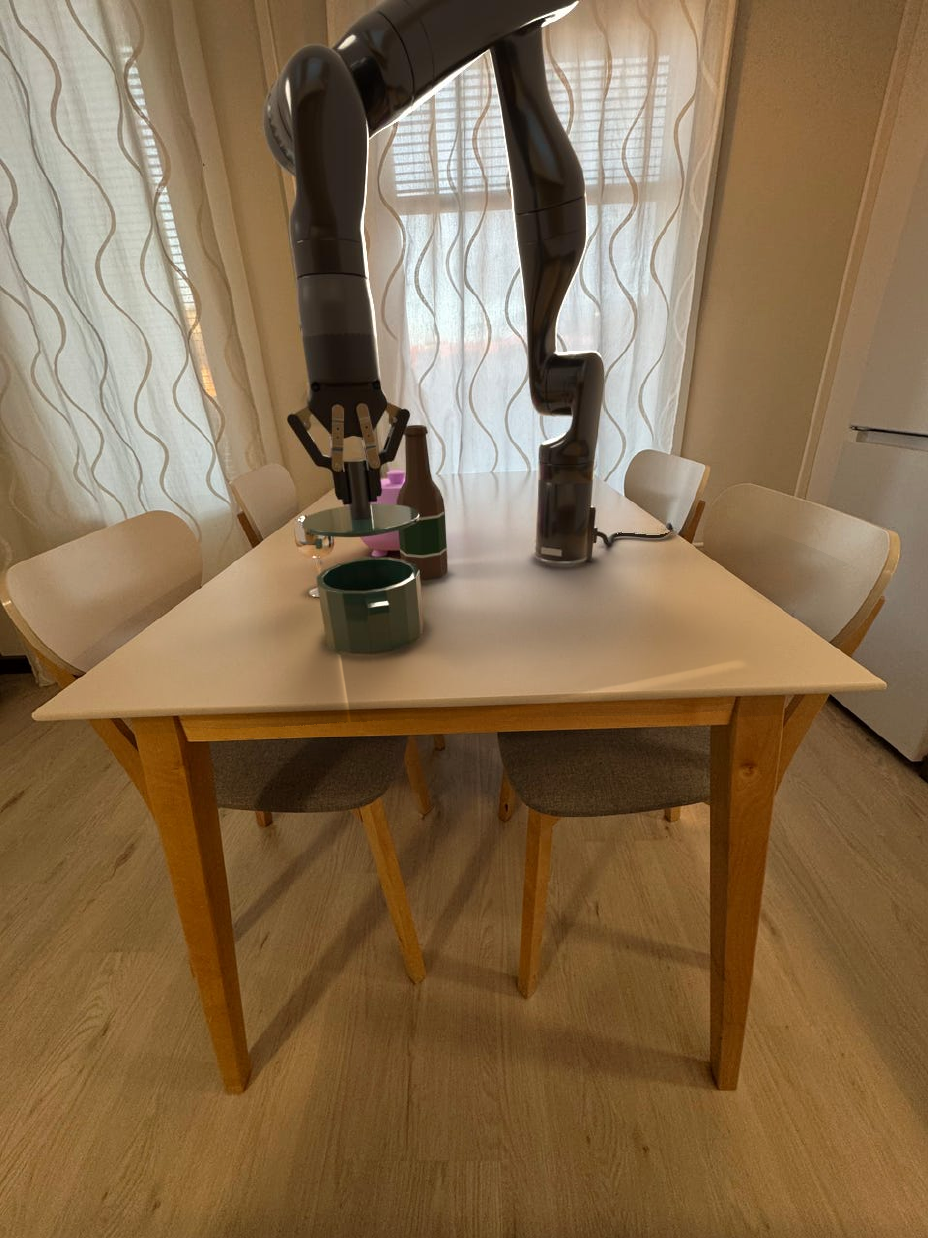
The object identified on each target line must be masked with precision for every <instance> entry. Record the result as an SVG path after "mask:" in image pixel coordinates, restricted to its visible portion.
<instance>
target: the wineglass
mask: <svg viewBox="0 0 928 1238" xmlns="http://www.w3.org/2000/svg"><path fill="white" fill-rule="evenodd" d="M312 514H313V513H311V514H305V515H301V516H298V517H296V518H295V519H294V520H295V521H294V543H295V546H296V549H297V551H298V553H300V555H302V557H305V558H308V559H312V560H316V561H315V568H316V569H317V572H318V575H319V574H320V573H321V572H322V571H323V562H322V561H321V559H324V558H326V557H327V556H329V555H330V554H331V553H332V552H333V550H334V547H335V537H330V536H321V535H316V534H312V533H309V532H307V531H305V530H304V529H303V527H302V521H303V520H304V519H305V518H306V517H308V516H309V515H312ZM308 594H309V596H311V597H314V598H319V594H318V588H317V587H314V588H312V589H310V590H309V592H308Z"/></svg>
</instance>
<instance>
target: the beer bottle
mask: <svg viewBox="0 0 928 1238" xmlns="http://www.w3.org/2000/svg"><path fill="white" fill-rule="evenodd" d="M428 433H429V432H428V427H427V425H426V426H425V425H423V424H412V425H407V426H406V429H405V432H404V435H403V436H404V444H405V445H404V448H405V451H404V453H405V475H404V478H405V482H404V484H403V485H402V487H401V489H400V491H399V494H398V498H397V505H402V506H407V507H411V508H413V509H416V510H417V511H418V512H419V520H418V521H417V522H416V523H415V524H413V525H411V526H409V527H406V528H404V529H401V530H398V532H399V543H400V550H399V552H400V553H399V555H400V559H401V560H406V561H408V562H410V563H413V564H415V565H416V566H417V568H418V569H419V571H420V581H421V582H423V581H424V582H425V581H430V580H436V579H441V578H442V577H443V576H445V574H447V573H448V548H447V547H448V546H447V544H448V543H447V525H446V523H447V522H446V509H445V500H444V497H443V495H442V492H441V490H440V489H439V487H438V486H437V484H436V483H435V481H434V480H433V475H432V471H431V465H430V457H429V449H428V439H427V435H428Z"/></svg>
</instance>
